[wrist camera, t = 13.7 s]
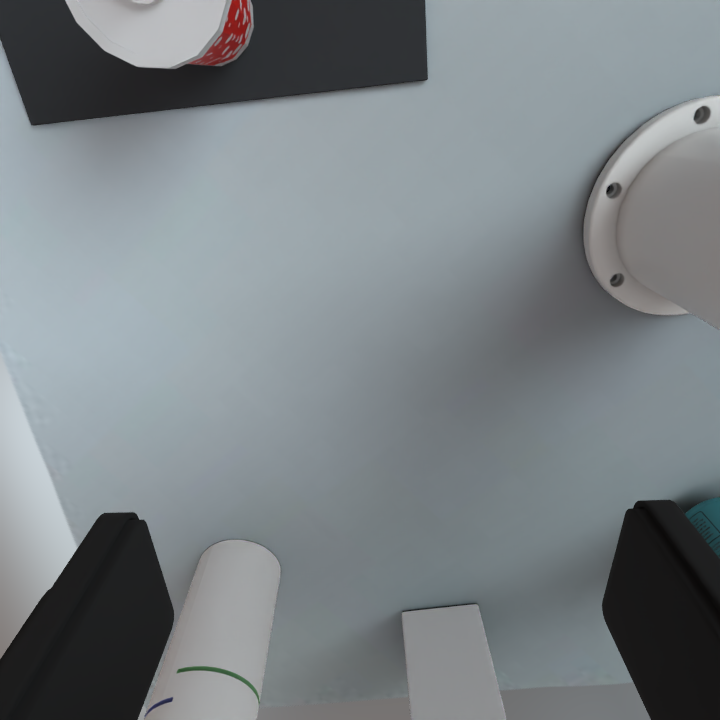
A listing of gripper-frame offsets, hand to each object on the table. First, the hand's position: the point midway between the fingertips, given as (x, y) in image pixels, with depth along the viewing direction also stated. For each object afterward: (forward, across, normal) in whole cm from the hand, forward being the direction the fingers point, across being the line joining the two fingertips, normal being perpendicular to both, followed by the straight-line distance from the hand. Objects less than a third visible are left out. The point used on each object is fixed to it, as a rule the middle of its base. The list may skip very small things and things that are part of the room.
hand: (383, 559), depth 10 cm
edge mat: (+24, +8, -13) cm, 28 cm away
